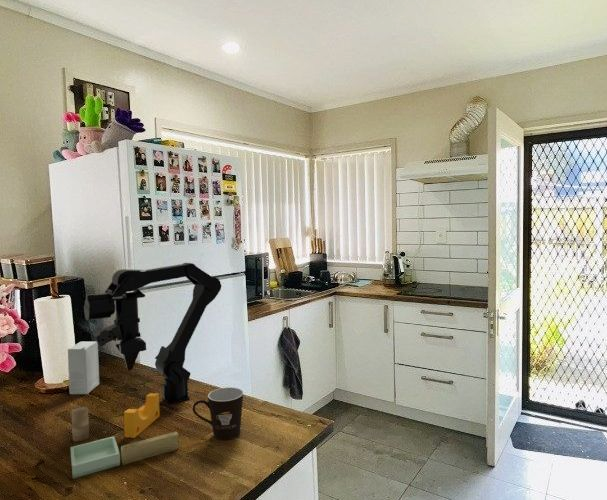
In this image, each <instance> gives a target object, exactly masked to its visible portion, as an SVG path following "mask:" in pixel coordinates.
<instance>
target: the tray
mask: <svg viewBox="0 0 607 500" xmlns="http://www.w3.org/2000/svg"><path fill="white" fill-rule="evenodd" d="M118 446H119V445H118V444H117V441H116V437H115V435H113V436H109V437H106V438H101V439H97V440H94V441H90V442H86V443H85V442H84V443H81V444H77V445H74V446H70V447H69V448H70V462H71V463H70V464H71V473H72V475H71V476H72V479H76V478H80V477H84V476H87V475H90V474H93V473H98V472H101V471H104V470H109V469H111V468H114V467H118V466H120V465H121V455H120V454H121V452H120V451H119V447H118Z"/></svg>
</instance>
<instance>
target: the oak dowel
mask: <svg viewBox="0 0 607 500" xmlns="http://www.w3.org/2000/svg"><path fill="white" fill-rule="evenodd" d="M70 412H71V432H72V441H73V442H82V441H85V440H87V439H88V438H89V437H90V426H89V425H90V424H89V422H90V421H89V420H90V419H89V408H88V407H87V406H80V407H76V408H74V409H72V410H71V411H70Z"/></svg>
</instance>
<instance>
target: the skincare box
mask: <svg viewBox="0 0 607 500" xmlns="http://www.w3.org/2000/svg"><path fill="white" fill-rule="evenodd" d="M98 347H99V345H98V343H97V341H84V340H83V341H79V342H78V343H76V344H74V345H73V346H71V347H69V348H68V349H67V361H68V362H67V363H68V364H67V365H68V366H67V367H68V386H69V388H68V389H69V394H70V395H88V394H89V393H90V392H91V391H93V390H94V389H95V388H96V387H97V386H99V385H100V373H99V372H100V371H99V369H100V368H99V366H100V363H99V348H98Z"/></svg>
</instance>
